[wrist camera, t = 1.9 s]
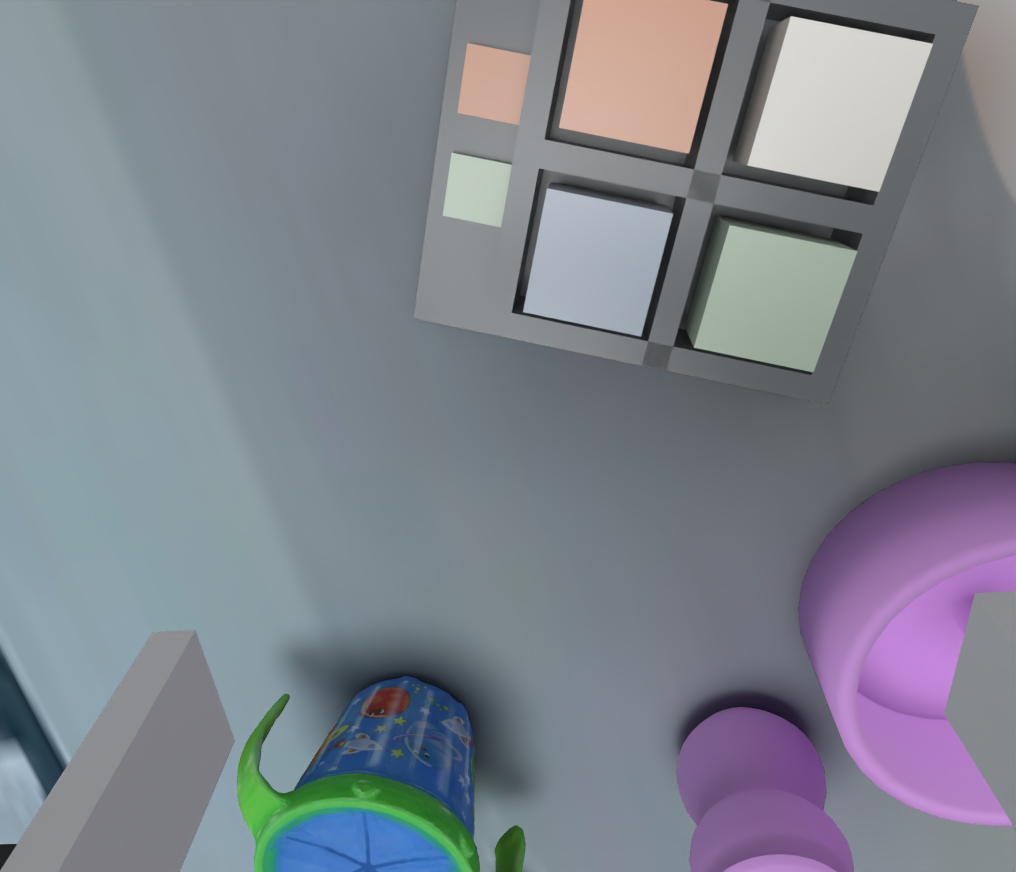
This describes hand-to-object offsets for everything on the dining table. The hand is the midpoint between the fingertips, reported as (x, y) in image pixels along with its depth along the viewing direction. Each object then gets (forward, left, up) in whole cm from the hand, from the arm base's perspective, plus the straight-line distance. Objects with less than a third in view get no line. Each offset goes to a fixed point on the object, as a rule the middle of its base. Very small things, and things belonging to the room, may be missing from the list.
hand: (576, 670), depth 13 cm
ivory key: (-6, -11, -20) cm, 23 cm away
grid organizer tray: (-1, -7, -23) cm, 24 cm away
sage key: (-6, -4, -20) cm, 21 cm away
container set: (-18, +13, -23) cm, 32 cm away
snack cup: (+5, +25, -23) cm, 34 cm away
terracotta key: (+1, -11, -20) cm, 23 cm away
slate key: (+1, -4, -20) cm, 21 cm away
